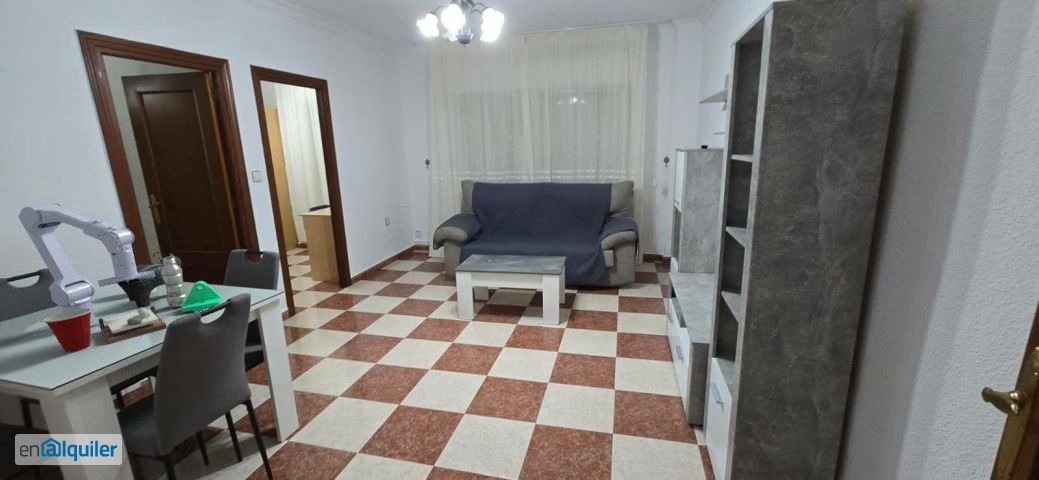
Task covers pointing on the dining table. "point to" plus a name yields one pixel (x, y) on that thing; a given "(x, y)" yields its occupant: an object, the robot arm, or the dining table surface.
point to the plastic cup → (71, 328)
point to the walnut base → (131, 330)
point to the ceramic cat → (151, 281)
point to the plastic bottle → (173, 282)
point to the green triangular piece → (201, 298)
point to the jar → (141, 268)
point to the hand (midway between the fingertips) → (132, 300)
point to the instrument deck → (123, 321)
